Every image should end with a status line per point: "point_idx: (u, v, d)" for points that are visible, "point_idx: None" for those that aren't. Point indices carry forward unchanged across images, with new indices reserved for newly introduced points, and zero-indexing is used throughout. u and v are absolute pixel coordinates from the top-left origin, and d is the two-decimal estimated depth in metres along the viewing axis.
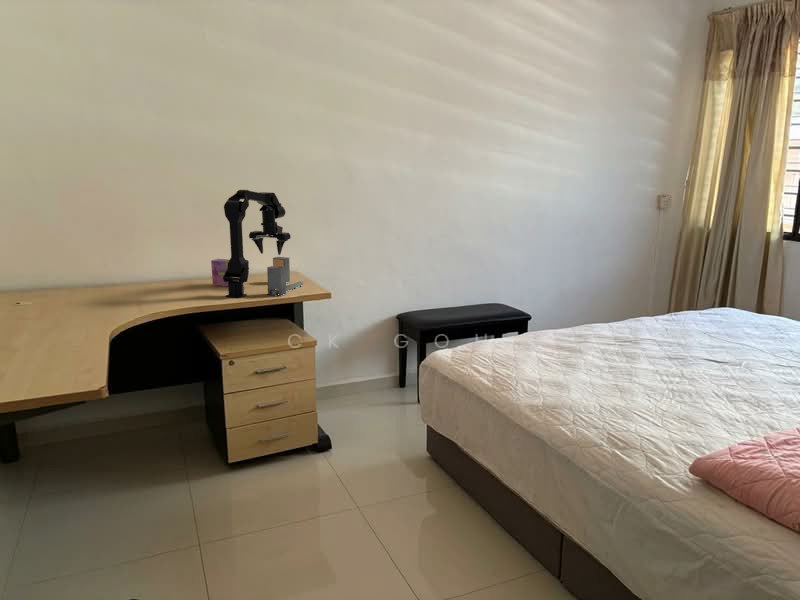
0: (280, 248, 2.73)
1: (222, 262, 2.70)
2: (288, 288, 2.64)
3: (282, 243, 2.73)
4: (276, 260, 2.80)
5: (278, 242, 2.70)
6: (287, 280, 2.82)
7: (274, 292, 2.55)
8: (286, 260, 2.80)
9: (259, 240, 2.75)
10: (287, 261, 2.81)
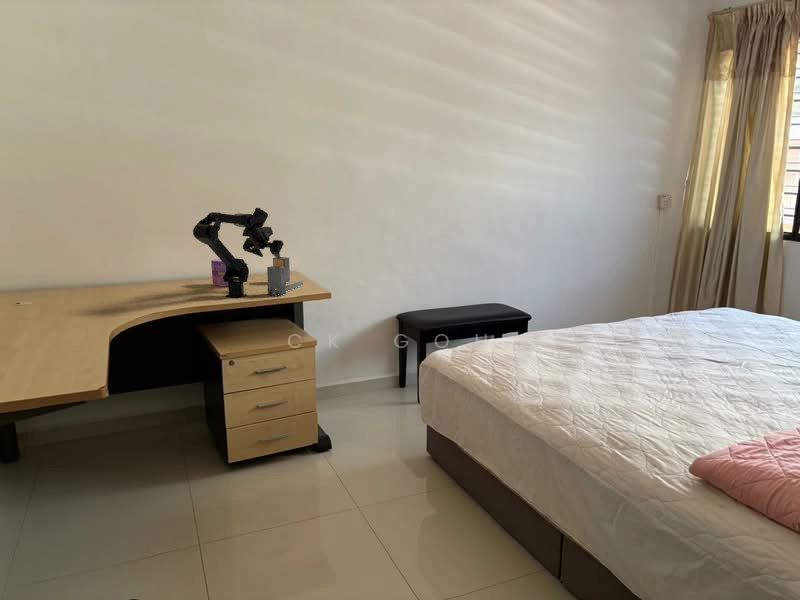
0: (278, 254, 2.69)
1: (222, 262, 2.70)
2: (288, 288, 2.64)
3: None
4: (276, 260, 2.80)
5: (274, 254, 2.65)
6: (287, 280, 2.82)
7: (274, 292, 2.55)
8: (286, 260, 2.80)
9: (254, 249, 2.70)
10: (287, 261, 2.81)
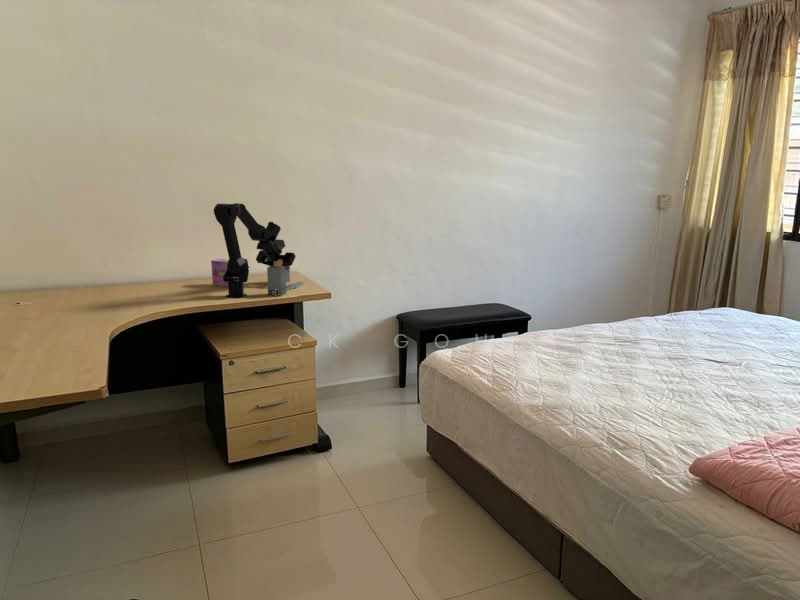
0: (288, 266, 2.79)
1: (222, 262, 2.70)
2: (288, 288, 2.64)
3: None
4: None
5: (284, 266, 2.76)
6: (287, 280, 2.82)
7: (274, 292, 2.55)
8: None
9: (269, 261, 2.80)
10: None
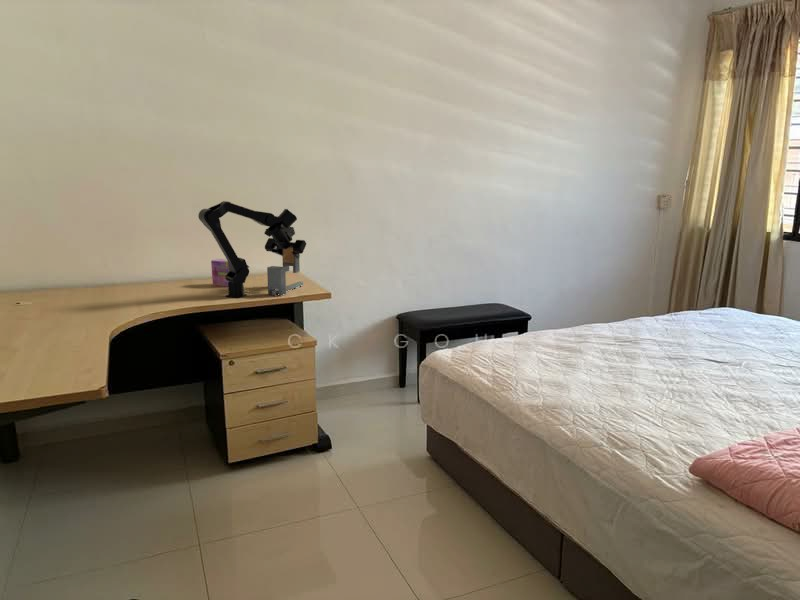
0: (298, 254, 2.69)
1: (222, 262, 2.70)
2: (288, 288, 2.64)
3: None
4: None
5: (294, 254, 2.66)
6: (297, 269, 2.73)
7: (274, 292, 2.55)
8: None
9: (279, 249, 2.70)
10: None
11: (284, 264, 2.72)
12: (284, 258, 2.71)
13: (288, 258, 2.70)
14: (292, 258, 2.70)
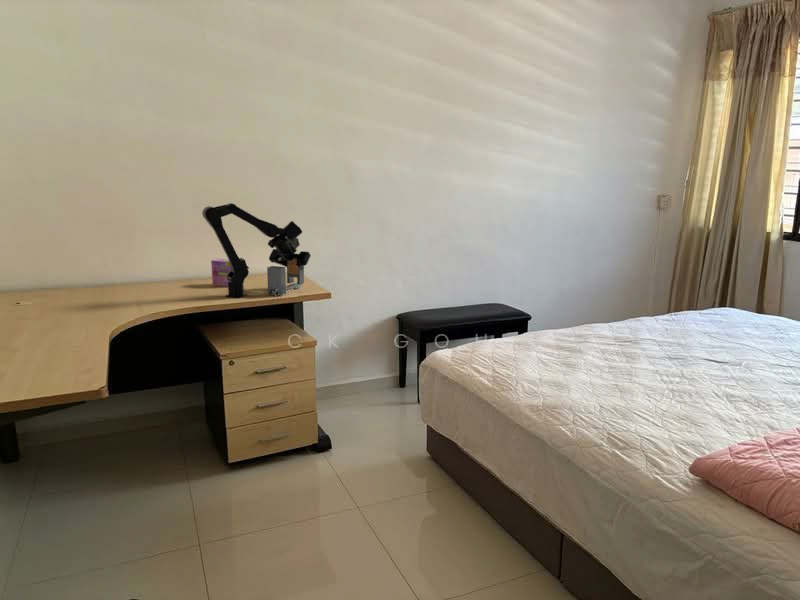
0: (302, 266, 2.68)
1: (222, 262, 2.70)
2: (288, 288, 2.64)
3: None
4: None
5: (298, 265, 2.64)
6: (301, 280, 2.71)
7: (274, 292, 2.55)
8: None
9: (283, 260, 2.68)
10: None
11: (288, 275, 2.70)
12: (288, 269, 2.69)
13: (292, 269, 2.69)
14: (296, 270, 2.68)
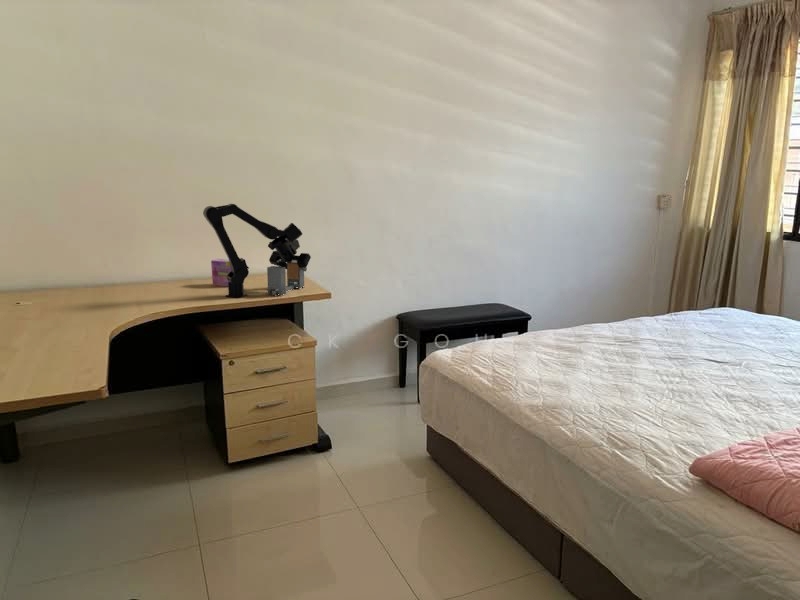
0: (304, 267, 2.67)
1: (222, 262, 2.70)
2: (288, 288, 2.64)
3: None
4: (290, 264, 2.69)
5: (301, 267, 2.64)
6: (301, 285, 2.71)
7: (274, 292, 2.55)
8: None
9: (281, 262, 2.69)
10: None
11: (289, 280, 2.71)
12: (289, 274, 2.70)
13: (292, 274, 2.69)
14: (296, 274, 2.69)
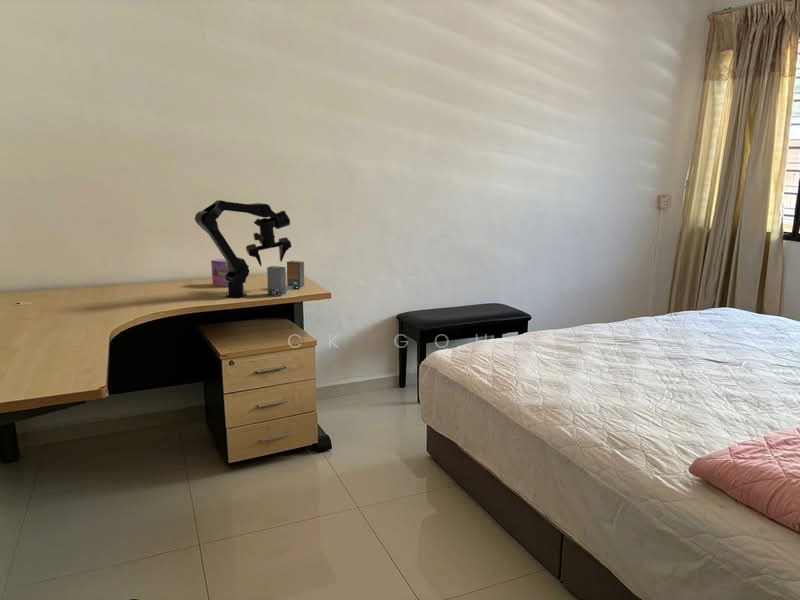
0: None
1: (222, 262, 2.70)
2: (288, 288, 2.64)
3: None
4: (290, 264, 2.69)
5: (284, 250, 2.63)
6: (301, 285, 2.71)
7: (274, 292, 2.55)
8: (300, 264, 2.69)
9: None
10: (302, 265, 2.70)
11: (289, 280, 2.71)
12: (289, 274, 2.70)
13: (292, 274, 2.69)
14: (296, 274, 2.69)
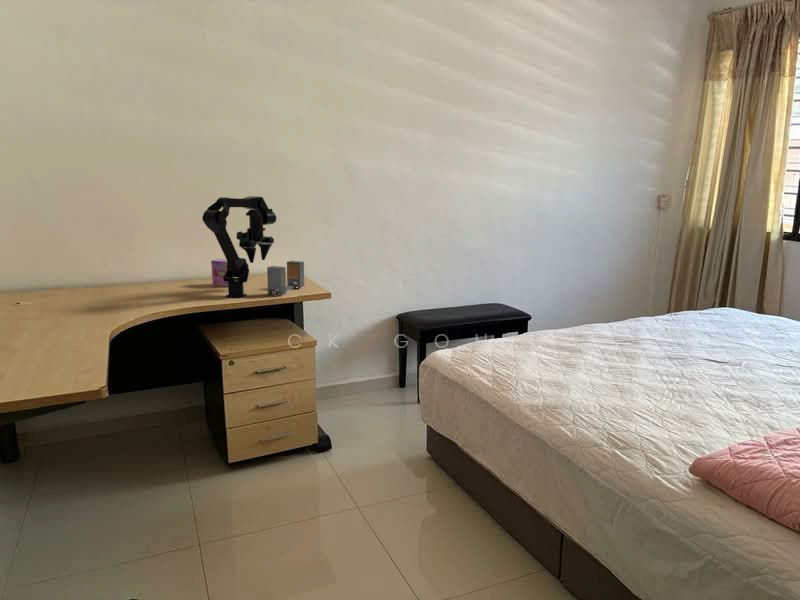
0: None
1: (222, 262, 2.70)
2: (288, 288, 2.64)
3: None
4: (290, 264, 2.69)
5: (270, 246, 2.66)
6: (301, 285, 2.71)
7: (274, 292, 2.55)
8: (300, 264, 2.69)
9: None
10: (302, 265, 2.70)
11: (289, 280, 2.71)
12: (289, 274, 2.70)
13: (292, 274, 2.69)
14: (296, 274, 2.69)
